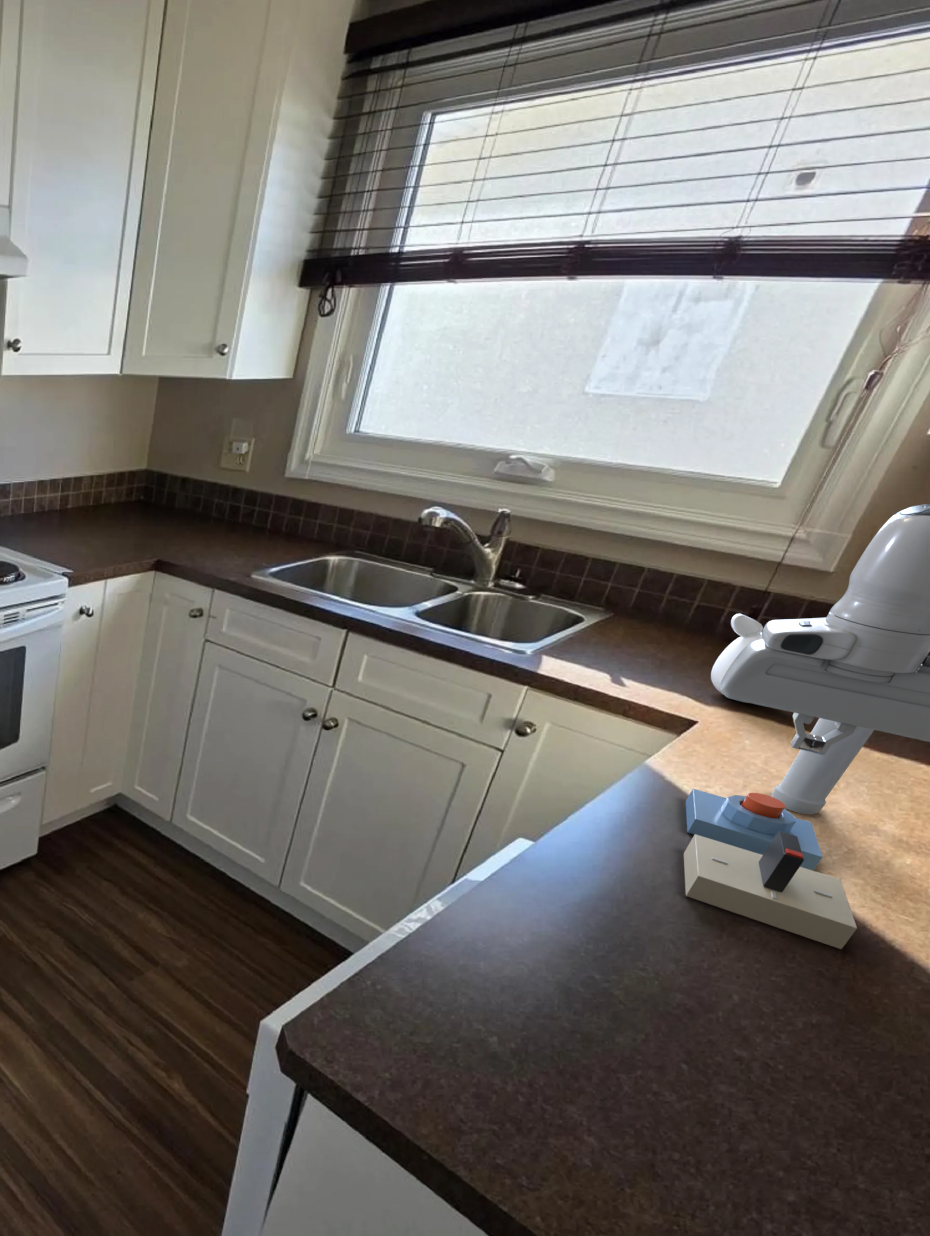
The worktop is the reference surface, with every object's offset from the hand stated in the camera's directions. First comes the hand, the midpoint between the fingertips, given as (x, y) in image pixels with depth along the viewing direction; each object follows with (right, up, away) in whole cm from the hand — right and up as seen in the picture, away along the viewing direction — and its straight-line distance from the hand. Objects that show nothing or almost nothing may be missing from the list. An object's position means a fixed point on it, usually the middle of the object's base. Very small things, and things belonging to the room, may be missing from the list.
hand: (806, 749), depth 99 cm
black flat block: (-12, -14, -7) cm, 20 cm away
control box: (-12, -17, -6) cm, 22 cm away
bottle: (+13, -8, +14) cm, 21 cm away
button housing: (-1, -11, +6) cm, 13 cm away
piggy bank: (+38, +7, +45) cm, 59 cm away
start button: (-1, -8, +5) cm, 9 cm away
